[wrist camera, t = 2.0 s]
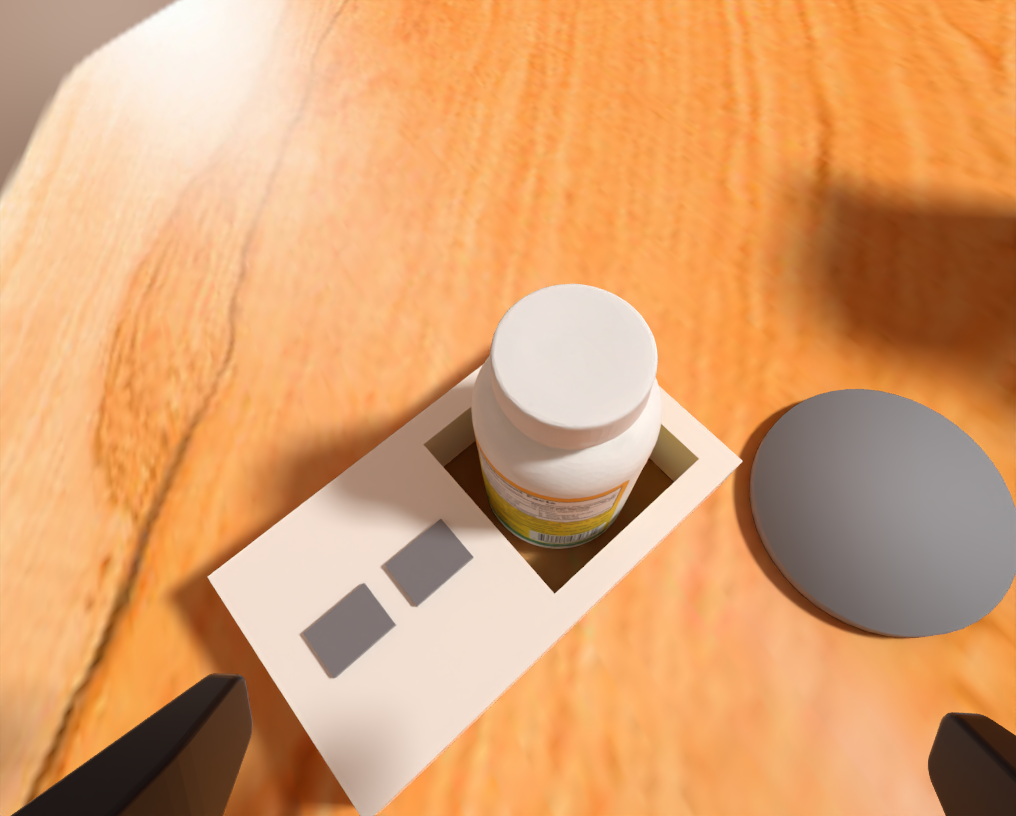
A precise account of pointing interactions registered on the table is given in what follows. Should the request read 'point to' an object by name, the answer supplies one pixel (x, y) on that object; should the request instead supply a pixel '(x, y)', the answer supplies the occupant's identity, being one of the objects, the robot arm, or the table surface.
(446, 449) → the desk organizer
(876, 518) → the mat
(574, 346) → the supplement bottle
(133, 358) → the table surface
